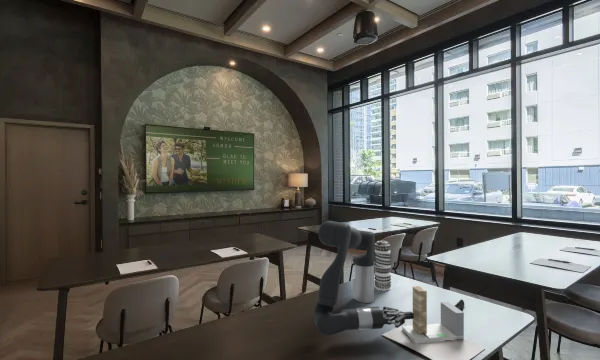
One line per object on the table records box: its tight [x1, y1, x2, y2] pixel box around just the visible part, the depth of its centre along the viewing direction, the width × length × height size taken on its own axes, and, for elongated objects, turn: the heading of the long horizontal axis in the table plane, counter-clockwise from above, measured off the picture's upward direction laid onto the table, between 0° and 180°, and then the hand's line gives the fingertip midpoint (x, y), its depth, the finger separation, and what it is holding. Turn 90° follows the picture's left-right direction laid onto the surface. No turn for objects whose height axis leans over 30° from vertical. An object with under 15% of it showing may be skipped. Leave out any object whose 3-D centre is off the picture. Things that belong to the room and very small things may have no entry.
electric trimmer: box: [454, 299, 465, 311], centre depth 142 cm, size 4×16×3 cm, turn 141°
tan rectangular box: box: [412, 285, 429, 338], centre depth 118 cm, size 3×8×16 cm, turn 7°
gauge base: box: [401, 301, 465, 344], centre depth 121 cm, size 19×10×10 cm, turn 97°
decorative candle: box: [374, 240, 392, 292], centre depth 170 cm, size 9×9×25 cm
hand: (412, 315), depth 120 cm, fingers closed
